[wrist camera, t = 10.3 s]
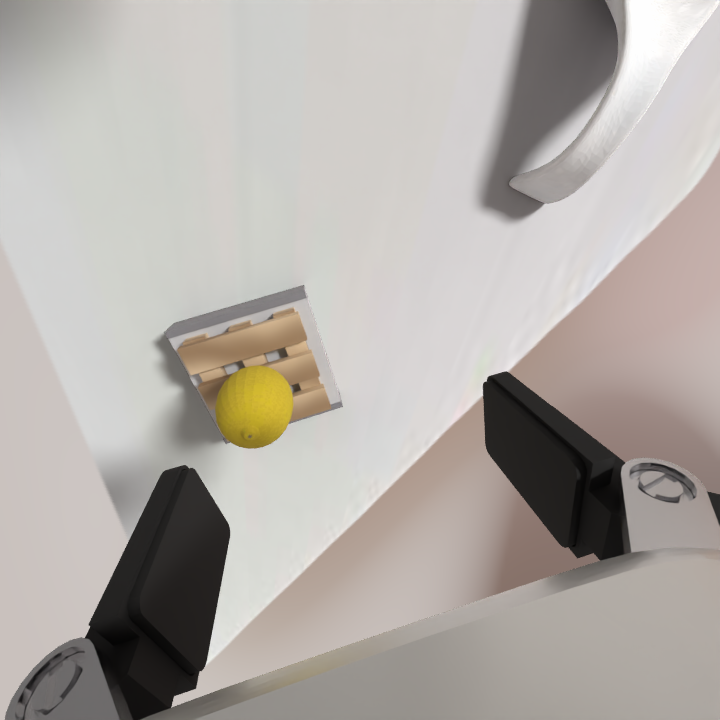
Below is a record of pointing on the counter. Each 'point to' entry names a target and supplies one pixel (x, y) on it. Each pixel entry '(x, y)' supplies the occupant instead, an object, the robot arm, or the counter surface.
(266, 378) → the lemon
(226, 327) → the dock
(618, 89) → the spoon rest
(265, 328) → the pallet
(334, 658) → the robot arm
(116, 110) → the counter surface
